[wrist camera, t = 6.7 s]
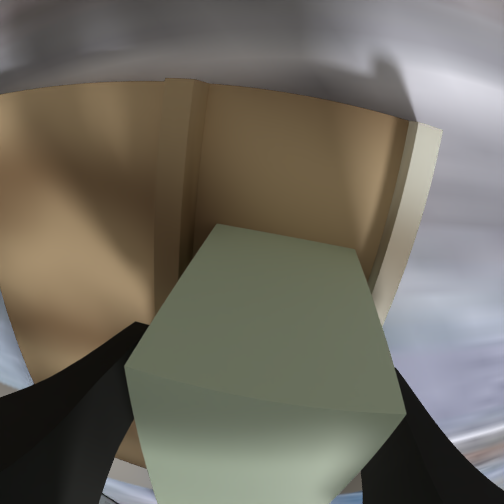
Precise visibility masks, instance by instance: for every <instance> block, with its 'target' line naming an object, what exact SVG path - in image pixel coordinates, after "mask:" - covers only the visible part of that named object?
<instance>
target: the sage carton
mask: <svg viewBox="0 0 504 504" xmlns="http://www.w3.org/2000/svg"><path fill="white" fill-rule="evenodd" d="M124 368H125V374H126V379H127V385H128V390H129V395H130V400H131V405H132V410H133V415H134V419H135V424H136V428H137V432H138V436H139V440H140V444H141V448H142V452H143V456H144V460H145V463H146V467H147V470H148V474H149V477H150V481H151V484H152V487H153V491H154V494H155V497H156V500H157V503H158V504H329V503H330V502H331V501H332V500H333V499H334V498H335V497H336V496H337V495H338V494H339V493H340V492H341V491H342V490H343V489H344V488H345V487H346V486H347V485H348V484H349V483H350V482H351V480H353V479H354V477H355V476H356V475H357V474H358V473H359V472H360V471H361V470H362V469H363V468H364V466H365V465H366V464H367V463H368V462H369V461H370V460H371V458H372V457H373V456H374V455H375V454H376V452H377V451H378V450H379V449H380V448H381V446H382V445H383V444H384V443H385V442H386V440H387V439H388V438H389V436H390V435H391V434H392V433H393V431H394V430H395V429H396V427H397V426H398V425H399V423H400V422H401V421H402V419H403V418H404V417H405V415H406V410H405V406H404V402H403V398H402V394H401V390H400V386H399V383H398V379H397V375H396V372H395V368H394V365H393V361H392V358H391V354H390V351H389V348H388V344H387V341H386V338H385V335H384V331H383V328H382V325H381V322H380V319H379V316H378V313H377V310H376V307H375V304H374V301H373V298H372V295H371V292H370V289H369V286H368V284H367V281H366V278H365V275H364V272H363V270H362V267H361V264H360V261H359V259H358V256H357V253H356V251H355V249H351V248H346V247H341V246H336V245H331V244H326V243H320V242H315V241H310V240H305V239H299V238H294V237H289V236H283V235H278V234H273V233H267V232H262V231H256V230H251V229H245V228H239V227H234V226H228V225H222V224H216V225H215V227H214V228H213V230H212V231H211V233H210V234H209V236H208V237H207V239H206V240H205V241H204V243H203V244H202V246H201V247H200V249H199V250H198V252H197V253H196V255H195V256H194V258H193V259H192V261H191V262H190V264H189V265H188V267H187V268H186V270H185V271H184V273H183V274H182V276H181V277H180V279H179V280H178V282H177V283H176V285H175V286H174V288H173V290H172V291H171V293H170V294H169V296H168V297H167V299H166V300H165V302H164V303H163V305H162V306H161V308H160V310H159V311H158V313H157V314H156V316H155V317H154V319H153V321H152V322H151V324H150V325H149V327H148V328H147V330H146V332H145V333H144V335H143V336H142V338H141V340H140V341H139V343H138V344H137V346H136V348H135V349H134V351H133V352H132V354H131V356H130V357H129V359H128V361H127V362H126V364H125V365H124Z"/></svg>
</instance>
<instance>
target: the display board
mask: <svg viewBox="0 0 504 504" xmlns="http://www.w3.org/2000/svg"><path fill="white" fill-rule="evenodd" d="M442 132H443V130H440V129H437V128H435V127H432V126H429V125H426V124H423V123H420V122H413V121H408V120H404V119H401V118H398V117H394V116H391V115H387V114H383V113H380V112H376V111H372V110H368V109H364V108H360V107H356V106H352V105H348V104H343V103H339V102H334V101H330V100H325V99H320V98H315V97H309V96H304V95H298V94H292V93H286V92H280V91H273V90H266V89H258V88H250V87H241V86H232V85H221V84H209V83H206V82H203V81H199V80H196V79H181V78H165V81H123V82H99V83H83V84H71V85H61V86H52V87H44V88H36V89H29V90H23V91H17V92H11V93H6V94H0V288H1V292H2V296H3V299H4V303H5V306H6V309H7V313H8V316H9V319H10V322H11V325H12V328H13V331H14V334H15V337H16V340H17V342H18V345H19V348H20V350H21V353H22V356H23V358H24V361H25V363H26V366H27V368H28V370H29V373H30V375H31V377H32V380H33V382H34V384H36V383H38V382H40V381H42V380H45V379H47V378H49V377H51V376H52V375H54V374H56V373H58V372H60V371H62V370H63V369H65V368H67V367H68V366H70V365H71V364H73V363H75V362H76V361H78V360H80V359H81V358H83V357H84V356H86V355H87V354H89V353H90V352H92V351H93V350H95V349H96V348H98V347H99V346H101V345H102V344H104V343H105V342H106V341H108V340H109V339H111V338H112V337H113V336H115V335H116V334H118V333H119V332H120V331H122V330H123V329H125V328H126V327H128V326H129V325H131V324H132V323H134V322H135V321H136V322H140V323H144V324H148V325H150V324H151V322H152V321H153V319H154V317H155V316H156V314H157V313H158V311H159V310H160V308H161V306H162V305H163V303H164V302H165V300H166V299H167V297H168V296H169V294H170V293H171V291H172V290H173V288H174V286H175V285H176V283H177V282H178V280H179V279H180V277H181V276H182V274H183V273H184V271H185V270H186V268H187V267H188V265H189V264H190V262H191V261H192V259H193V258H194V256H195V255H196V253H197V252H198V250H199V249H200V247H201V246H202V244H203V243H204V241H205V240H206V239H207V237H208V236H209V234H210V233H211V231H212V230H213V228H214V227H215V225H216V224H222V225H228V226H234V227H239V228H245V229H251V230H256V231H262V232H267V233H273V234H278V235H283V236H289V237H294V238H299V239H305V240H310V241H315V242H320V243H326V244H331V245H336V246H341V247H346V248H351V249H355V251H356V253H357V256H358V259H359V261H360V264H361V267H362V270H363V272H364V275H365V278H366V281H367V284H368V286H369V289H370V292H371V295H372V298H373V301H374V304H375V307H376V310H377V313H378V316H379V319H380V322H381V325H382V326H383V324H384V321H385V319H386V316H387V314H388V312H389V309H390V307H391V304H392V302H393V299H394V297H395V294H396V291H397V289H398V286H399V283H400V281H401V278H402V275H403V273H404V270H405V267H406V264H407V261H408V258H409V255H410V253H411V250H412V247H413V243H414V240H415V237H416V234H417V231H418V228H419V224H420V221H421V218H422V214H423V211H424V207H425V204H426V200H427V197H428V193H429V189H430V185H431V181H432V177H433V173H434V169H435V165H436V160H437V156H438V151H439V147H440V142H441V137H442ZM115 458H118V459H120V460H123V461H126V462H129V463H131V464H134V465H137V466H140V467H143V468H146V469H147V467H146V463H145V460H144V456H143V452H142V448H141V444H140V440H139V436H138V432H137V428H136V424H135V419H134V420H133V422H132V424H131V425H130V427H129V429H128V431H127V433H126V435H125V437H124V439H123V441H122V442H121V444H120V446H119V448H118V451H117V453H116V455H115Z"/></svg>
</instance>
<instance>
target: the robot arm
mask: <svg viewBox="0 0 504 504" xmlns="http://www.w3.org/2000/svg"><path fill="white" fill-rule="evenodd" d="M148 327H149V325H148V324H144V323H140V322H136V321H135V322H134V323H132V324H131V325H129V326H128V327H126V328H125V329H123V330H122V331H120V332H119V333H118V334H116V335H115V336H113V337H112V338H111V339H109V340H108V341H106V342H105V343H104V344H102V345H101V346H99V347H98V348H96V349H95V350H93V351H92V352H90V353H89V354H87V355H86V356H84V357H83V358H81V359H80V360H78V361H76V362H75V363H73V364H71V365H70V366H68V367H67V368H65V369H63V370H62V371H60V372H58V373H56V374H54V375H52V376H51V377H49V378H47V379H45V380H42V381H40V382H38V383H36V384H34V385H32V386H29V387H27V388H24V389H22V390H19V391H17V392H14V393H11V394H9V395H6V396H3V397H0V504H99V501H100V498H101V495H102V491H103V488H104V485H105V482H106V479H107V476H108V473H109V471H110V468H111V465H112V463H113V460H114V457H115V455H116V453H117V451H118V448H119V446H120V444H121V442H122V441H123V439H124V437H125V435H126V433H127V431H128V429H129V427H130V425H131V424H132V422H133V420H134V415H133V410H132V405H131V400H130V395H129V390H128V385H127V379H126V374H125V368H124V365H125V364H126V362H127V361H128V359H129V357H130V356H131V354H132V352H133V351H134V349H135V348H136V346H137V344H138V343H139V341H140V340H141V338H142V336H143V335H144V333H145V332H146V330H147V328H148ZM394 368H395V367H394ZM395 372H396V375H397V379H398V383H399V386H400V390H401V394H402V398H403V402H404V406H405V410H406V415H405V417H404V418H403V419H402V421H401V422H400V423H399V425H398V426H397V427H396V429H395V430H394V431H393V433H392V434H391V435H390V436H389V438H388V439H387V440H386V442H385V443H384V444H383V445H382V446H381V448H380V449H379V450H378V451H377V452H376V454H375V455H374V456H373V457H372V458H371V460H370V461H369V462H368V463H367V464H366V465H365V466H364V468H363V469H362V470H361V478H362V489H363V504H504V490H502V489H501V488H499V487H498V486H497V485H495V484H494V483H493V482H491V481H490V480H489V479H488V478H487V477H486V476H484V475H483V474H482V473H481V472H480V471H479V470H478V469H476V468H475V467H474V466H473V465H472V464H471V463H470V462H469V461H468V460H467V459H466V458H465V457H464V456H463V455H462V454H461V452H460V451H459V450H458V449H457V448H456V447H455V446H454V445H453V444H452V443H451V441H450V440H449V439H448V438H447V437H446V435H445V434H444V433H443V432H442V430H441V429H440V428H439V427H438V425H437V424H436V423H435V421H434V420H433V419H432V417H431V416H430V415H429V413H428V412H427V411H426V409H425V408H424V406H423V405H422V404H421V402H420V401H419V399H418V398H417V397H416V395H415V394H414V392H413V391H412V389H411V388H410V387H409V385H408V384H407V382H406V381H405V379H404V378H403V377H402V375H401V374H400V373H399V371H398V370H397V369H396V368H395Z"/></svg>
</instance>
